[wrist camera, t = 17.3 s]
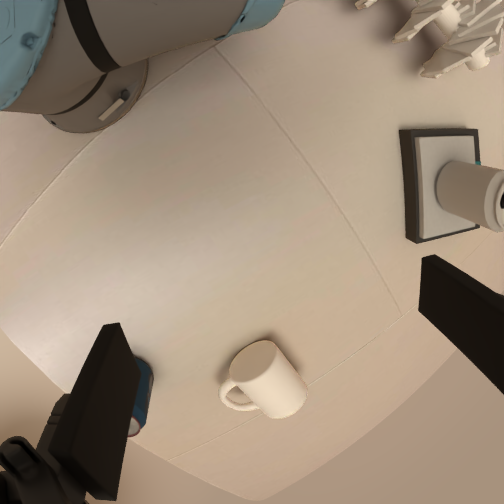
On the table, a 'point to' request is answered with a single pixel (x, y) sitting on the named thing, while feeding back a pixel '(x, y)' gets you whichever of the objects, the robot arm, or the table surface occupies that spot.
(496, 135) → the table surface
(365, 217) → the table surface
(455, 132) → the scale
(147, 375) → the soda can
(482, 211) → the can
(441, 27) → the spiral staircase
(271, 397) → the white coffee cup
